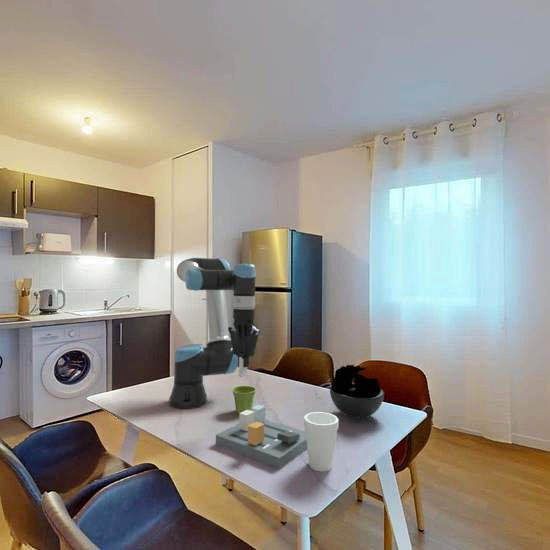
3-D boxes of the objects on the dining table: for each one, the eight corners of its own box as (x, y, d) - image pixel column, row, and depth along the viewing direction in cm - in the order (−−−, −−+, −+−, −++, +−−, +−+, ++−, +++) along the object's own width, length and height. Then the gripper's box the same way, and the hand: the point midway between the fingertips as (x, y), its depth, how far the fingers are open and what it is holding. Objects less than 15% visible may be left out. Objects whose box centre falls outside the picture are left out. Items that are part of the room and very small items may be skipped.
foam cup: (301, 457, 103) (302, 412, 104) (332, 456, 104) (333, 411, 104) (307, 475, 94) (307, 425, 94) (341, 474, 95) (342, 424, 95)
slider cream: (239, 428, 114) (239, 413, 114) (247, 424, 118) (247, 409, 118) (246, 431, 113) (246, 415, 113) (254, 427, 116) (254, 411, 116)
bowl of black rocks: (348, 403, 149) (349, 358, 150) (393, 417, 135) (393, 367, 136) (318, 416, 135) (319, 366, 136) (365, 432, 121) (366, 376, 121)
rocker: (277, 439, 105) (277, 433, 105) (287, 436, 109) (288, 430, 110) (288, 442, 102) (289, 437, 103) (299, 440, 107) (299, 434, 107)
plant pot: (236, 417, 132) (237, 394, 132) (228, 409, 141) (228, 387, 141) (259, 413, 137) (260, 391, 137) (250, 406, 145) (250, 384, 145)
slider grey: (251, 422, 119) (251, 407, 119) (258, 419, 123) (258, 404, 123) (258, 425, 118) (258, 409, 118) (265, 421, 121) (265, 406, 121)
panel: (215, 444, 111) (215, 432, 111) (253, 424, 126) (254, 414, 126) (279, 469, 97) (279, 455, 97) (313, 443, 112) (313, 431, 112)
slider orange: (247, 442, 105) (248, 425, 105) (256, 438, 108) (256, 421, 108) (255, 445, 103) (256, 428, 103) (264, 440, 106) (264, 423, 106)
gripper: (222, 307, 125) (221, 375, 125) (251, 309, 118) (250, 381, 117) (237, 306, 131) (236, 371, 131) (265, 308, 124) (264, 376, 123)
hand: (243, 376), depth 124 cm, fingers closed
